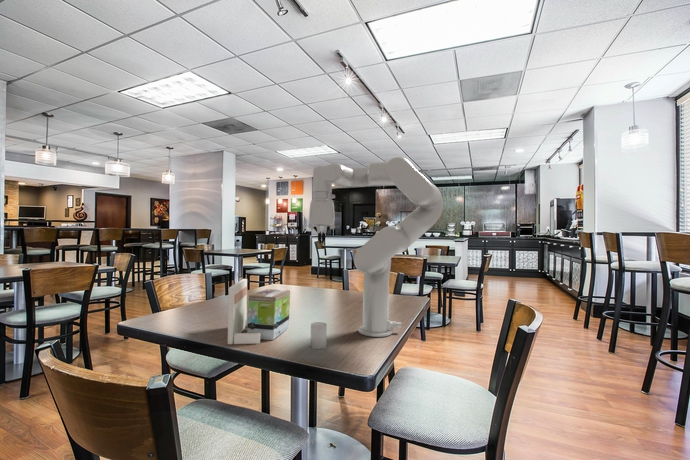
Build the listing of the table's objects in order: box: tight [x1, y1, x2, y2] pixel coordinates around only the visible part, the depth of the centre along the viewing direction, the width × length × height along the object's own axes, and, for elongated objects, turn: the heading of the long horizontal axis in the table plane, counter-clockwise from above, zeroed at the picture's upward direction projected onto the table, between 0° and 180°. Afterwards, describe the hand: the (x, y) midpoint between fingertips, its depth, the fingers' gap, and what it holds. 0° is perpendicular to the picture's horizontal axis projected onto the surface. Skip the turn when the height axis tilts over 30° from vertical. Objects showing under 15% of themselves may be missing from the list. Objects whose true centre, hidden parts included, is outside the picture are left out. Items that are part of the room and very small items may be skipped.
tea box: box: [246, 288, 291, 341], centre depth 116 cm, size 15×10×15 cm
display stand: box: [227, 278, 261, 345], centre depth 115 cm, size 10×21×18 cm, turn 5°
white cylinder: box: [310, 321, 328, 350], centre depth 103 cm, size 5×5×7 cm
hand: (321, 243), depth 130 cm, fingers closed
